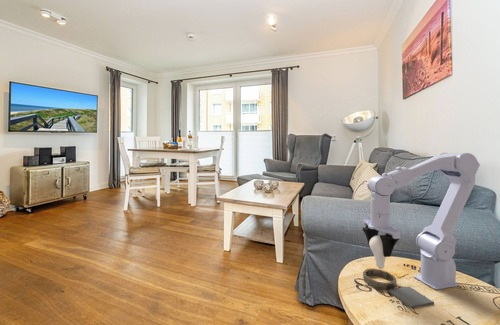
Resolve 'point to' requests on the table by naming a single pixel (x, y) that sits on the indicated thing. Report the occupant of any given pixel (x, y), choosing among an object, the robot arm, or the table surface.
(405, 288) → the mat
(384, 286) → the collar
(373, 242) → the lightbulb
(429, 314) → the table surface
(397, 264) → the table surface
